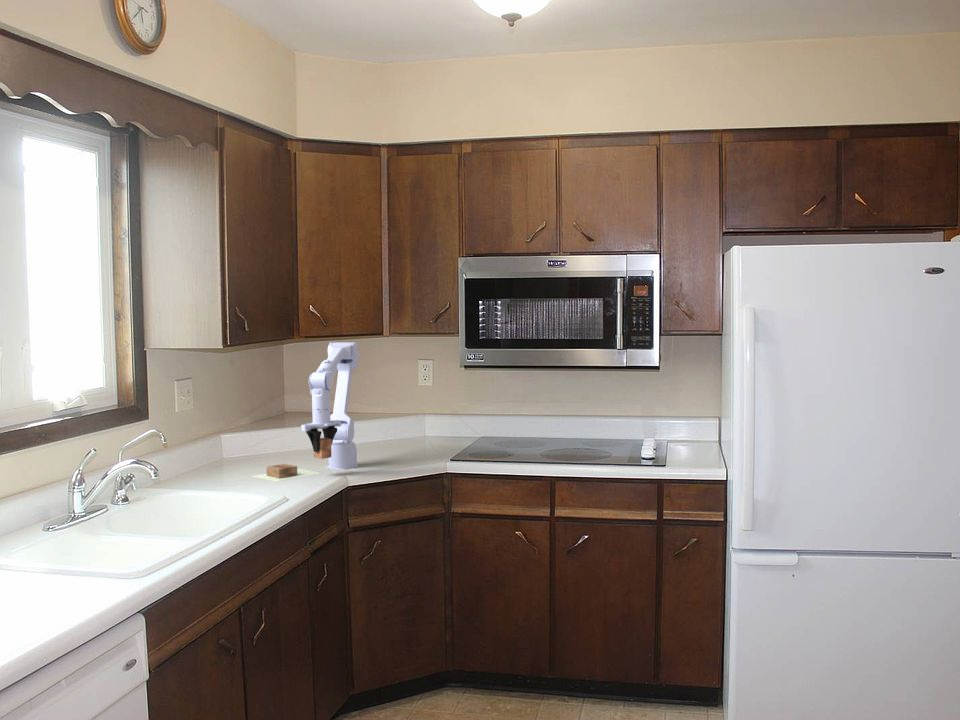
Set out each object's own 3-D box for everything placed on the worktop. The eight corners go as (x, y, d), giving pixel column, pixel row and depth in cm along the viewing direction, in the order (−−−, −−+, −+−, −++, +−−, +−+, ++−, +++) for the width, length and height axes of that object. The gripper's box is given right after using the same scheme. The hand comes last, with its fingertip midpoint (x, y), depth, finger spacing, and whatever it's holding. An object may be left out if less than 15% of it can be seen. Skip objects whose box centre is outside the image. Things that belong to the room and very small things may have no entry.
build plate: (297, 469, 283) (297, 468, 283) (322, 474, 274) (322, 473, 274) (251, 477, 270) (251, 476, 269) (276, 482, 260) (276, 481, 260)
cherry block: (323, 455, 271) (323, 437, 271) (331, 457, 269) (331, 438, 268) (313, 457, 268) (313, 439, 268) (321, 458, 266) (321, 440, 265)
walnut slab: (284, 472, 275) (284, 463, 275) (297, 475, 270) (297, 466, 270) (266, 475, 270) (266, 466, 270) (279, 478, 265) (279, 469, 265)
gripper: (310, 412, 259) (311, 455, 260) (346, 407, 270) (347, 449, 271) (297, 410, 264) (298, 452, 265) (333, 406, 275) (334, 446, 276)
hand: (322, 450), depth 268 cm, fingers closed on cherry block, 4 cm apart
